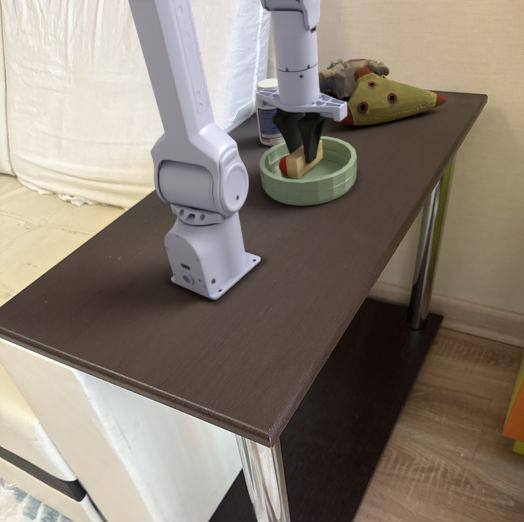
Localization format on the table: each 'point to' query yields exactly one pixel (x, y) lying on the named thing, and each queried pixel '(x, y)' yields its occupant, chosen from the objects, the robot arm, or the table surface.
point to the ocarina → (385, 100)
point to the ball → (283, 165)
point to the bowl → (310, 174)
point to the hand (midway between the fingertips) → (303, 158)
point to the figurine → (347, 76)
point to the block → (301, 162)
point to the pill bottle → (267, 117)
